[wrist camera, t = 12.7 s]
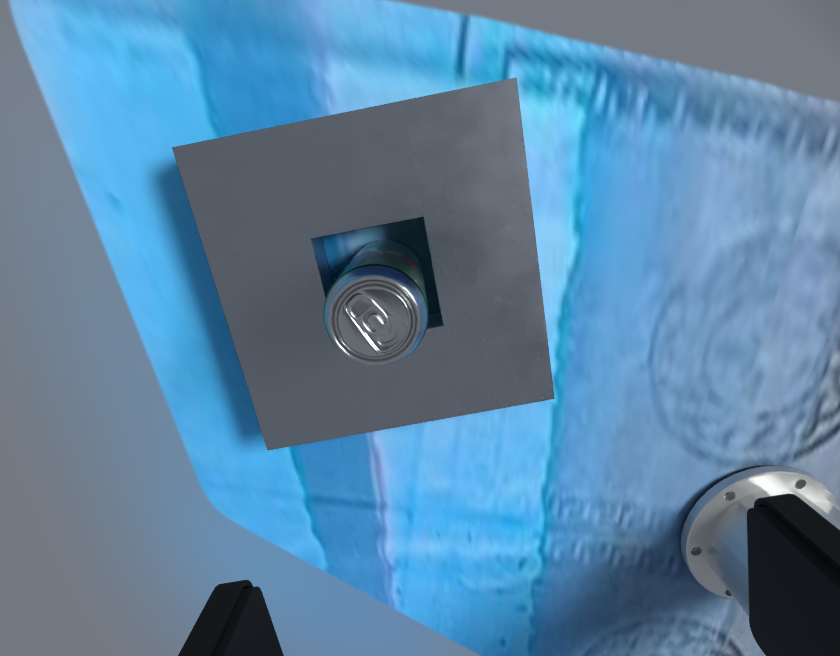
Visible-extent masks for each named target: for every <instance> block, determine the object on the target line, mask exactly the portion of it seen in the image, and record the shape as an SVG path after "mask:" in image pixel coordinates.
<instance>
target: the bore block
mask: <svg viewBox="0 0 840 656" xmlns="http://www.w3.org/2000/svg"><path fill="white" fill-rule="evenodd" d="M172 149H173V152H174V155H175V159H176V162H177V165H178V168H179V171H180V174H181V178H182V181H183V184H184V187H185V190H186V193H187V197H188V200H189V203H190V206H191V209H192V212H193V216H194V219H195V222H196V225H197V228H198V231H199V235H200V238H201V241H202V244H203V247H204V250H205V254H206V257H207V260H208V263H209V266H210V270H211V273H212V276H213V279H214V282H215V285H216V289H217V292H218V295H219V298H220V301H221V304H222V308H223V311H224V314H225V317H226V320H227V323H228V327H229V330H230V333H231V336H232V339H233V342H234V346H235V349H236V352H237V355H238V358H239V361H240V365H241V368H242V371H243V374H244V377H245V381H246V384H247V387H248V390H249V393H250V396H251V400H252V403H253V406H254V409H255V412H256V415H257V419H258V422H259V425H260V428H261V431H262V434H263V438H264V441H265V444H266V447H267V450H273V449H278V448H284V447H289V446H295V445H300V444H306V443H311V442H317V441H322V440H328V439H334V438H339V437H345V436H350V435H356V434H361V433H367V432H372V431H378V430H384V429H389V428H395V427H400V426H406V425H411V424H417V423H422V422H428V421H434V420H439V419H445V418H450V417H456V416H461V415H467V414H472V413H478V412H484V411H489V410H495V409H500V408H506V407H511V406H517V405H522V404H528V403H533V402H539V401H545V400H550V399H554V390H553V382H552V373H551V365H550V356H549V348H548V339H547V331H546V323H545V314H544V306H543V297H542V289H541V280H540V272H539V264H538V255H537V247H536V238H535V230H534V221H533V213H532V204H531V196H530V188H529V179H528V171H527V162H526V154H525V145H524V137H523V129H522V120H521V112H520V103H519V95H518V86H517V78H512V79H508V80H503V81H498V82H493V83H488V84H483V85H478V86H473V87H468V88H463V89H458V90H453V91H448V92H443V93H438V94H434V95H429V96H424V97H419V98H414V99H409V100H404V101H399V102H394V103H389V104H384V105H379V106H374V107H369V108H364V109H360V110H355V111H350V112H345V113H340V114H335V115H330V116H325V117H320V118H315V119H310V120H305V121H300V122H295V123H290V124H286V125H281V126H276V127H271V128H266V129H261V130H256V131H251V132H246V133H241V134H236V135H231V136H226V137H221V138H217V139H212V140H207V141H202V142H197V143H192V144H187V145H182V146H177V147H172ZM419 217H423V220H424V225H425V231H426V236H427V242H428V247H429V253H430V258H431V264H432V269H433V275H434V280H435V286H436V291H437V297H438V302H439V308H440V312H439V313H433V314H429V319H428V326H427V329H426V333H425V335H424V337H423V339H422V341H421V342H420V344H419V345H418V347H417V348H416V349H415V350H414V351H413V352H412V353H410V354H409V355H408V356H406V357H405V358H403V359H401V360H399V361H397V362H394V363H391V364H386V365H377V366H373V365H365V364H361V363H359V362H356V361H354V360H352V359H350V358H349V357H347V356H346V355H345V354H343V353H342V352H341V351H340V350H339V349H338V348H337V347H336V346H335V345H334V344H333V342H332V341H331V339H330V337H329V335H328V333H327V331H326V327H325V324H324V316H323V311H324V303H325V299H326V296H327V294H328V291H329V290H330V288H331V287H332V285H333V281H332V277H331V273H330V269H329V265H328V261H327V257H326V253H325V249H324V244H323V240H322V236H326V235H331V234H336V233H341V232H347V231H352V230H357V229H362V228H367V227H372V226H377V225H383V224H388V223H393V222H398V221H403V220H408V219H414V218H419Z"/></svg>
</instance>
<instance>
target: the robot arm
mask: <svg viewBox="0 0 840 656" xmlns="http://www.w3.org/2000/svg"><path fill="white" fill-rule="evenodd" d="M681 551H682V555H683V560H684V562H685V563H686V565H687V567H688V569H689V571H690V572H691V573H692V575H693V576H694V577H695V579H696V580H697V581H698V582H699V583H700V584H701V585H702V586H703V587H704V588H705V589H707V590H709V591H710V592H712V593H714V594H715V595H718V596H721V597H723V598H727V599H732V600H736V601H737V602H738V603H739V604H740V606H741V607H742V608H743V610H744V611H745V612H746V613H747V615H748V616H749V623H750V628H751V631H752V634H753V636H754V638H755V640H756V642H757V644H758V645H759V647H760V648H761V650H762V651H763V652H764V654H765V655H766V656H840V508H839V505H838V503H837V500H836V499H835V497H834V496H833V494H832V493H831V492H830V490H829V489H828V488H826V487H825V486H824V485H823V484H822V483H820V482H819V481H818V480H816V479H815V478H813V477H812V476H810V475H809V474H807V473H805V472H802V471H800V470H797V469H794V468H789V467H783V466H762V467H757V468H751V469H747V470H745V471H742V472H739V473H736V474H733V475H732V476H730V477H728V478H726V479H724V480H722V481H720V482H719V483H717V484H716V485H715V486H713V487H712V488H711V489H709V490H708V491H707V492H706V493H705V494H704V495H703V496H702V497H701V498H700V499H699V500H698V501H697V503H696V504H695V505H694V507H693V508H692V509H691V511H690V512H689V515H688V517H687V519H686V521H685V523H684V526H683V530H682V534H681ZM178 656H284V655H283V653H282V649H281V647H280V644H279V641H278V638H277V635H276V632H275V629H274V626H273V623H272V620H271V617H270V615H269V612H268V609H267V606H266V603H265V600H264V597H263V594H262V591H261V589H260V588H259V587H253V586H252V583H251V582H250V581H249V580H243V581H236V582H230V583H224V584H219V585H218V586H216V587H215V589H214V590H213V592H212V594H211V596H210V597H209V599H208V601H207V603H206V605H205V607H204V609H203V610H202V612H201V614H200V616H199V618H198V620H197V622H196V624H195V625H194V627H193V629H192V631H191V633H190V635H189V637H188V638H187V640H186V642H185V644H184V646H183V648H182V649H181V651H180V653H179V655H178Z"/></svg>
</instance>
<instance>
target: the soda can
mask: <svg viewBox="0 0 840 656" xmlns="http://www.w3.org/2000/svg"><path fill="white" fill-rule="evenodd" d="M323 316H324V324H325V327H326V331H327V333H328V335H329V337H330V339H331V341H332V342H333V344H334V345H335V346H336V347H337V348H338V349H339V350H340V351H341V352H342V353H343V354H345V355H346V356H347V357H349V358H350V359H352V360H354V361H356V362H359V363H361V364H365V365H373V366H377V365H386V364H391V363H394V362H397V361H399V360H401V359H403V358H405V357H406V356H408V355H409V354H410V353H412V352H413V351H414V350H415V349H416V348H417V347H418V345H419V344H420V342H421V341H422V339H423V337H424V335H425V333H426V329H427V326H428V319H429V313H428V304H427V297H426V290H425V284H424V277H423V271H422V266H421V264H420V261H419V259H418V258H417V256H416V255H415V254H414V252H413V251H412V250H411V249H409V248H408V247H407V246H405V245H404V244H402V243H399V242H396V241H393V240H379V241H374V242H372V243H369V244H368V245H366V246H364V247H363V248H362V249H361V250H359V252H358V253H357V254H356V255H355V256H354V258H353V259H352V260H351V262H350V263H349V264H348V265H347V267H346V268H345V269H344V271H343V272H342V273H341V274H340V276H339V277H338V278H337V280H336V281H335V282H334V284H333V285H332V287H331V288H330V290H329V291H328V294H327V296H326V299H325V303H324V311H323Z"/></svg>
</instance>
